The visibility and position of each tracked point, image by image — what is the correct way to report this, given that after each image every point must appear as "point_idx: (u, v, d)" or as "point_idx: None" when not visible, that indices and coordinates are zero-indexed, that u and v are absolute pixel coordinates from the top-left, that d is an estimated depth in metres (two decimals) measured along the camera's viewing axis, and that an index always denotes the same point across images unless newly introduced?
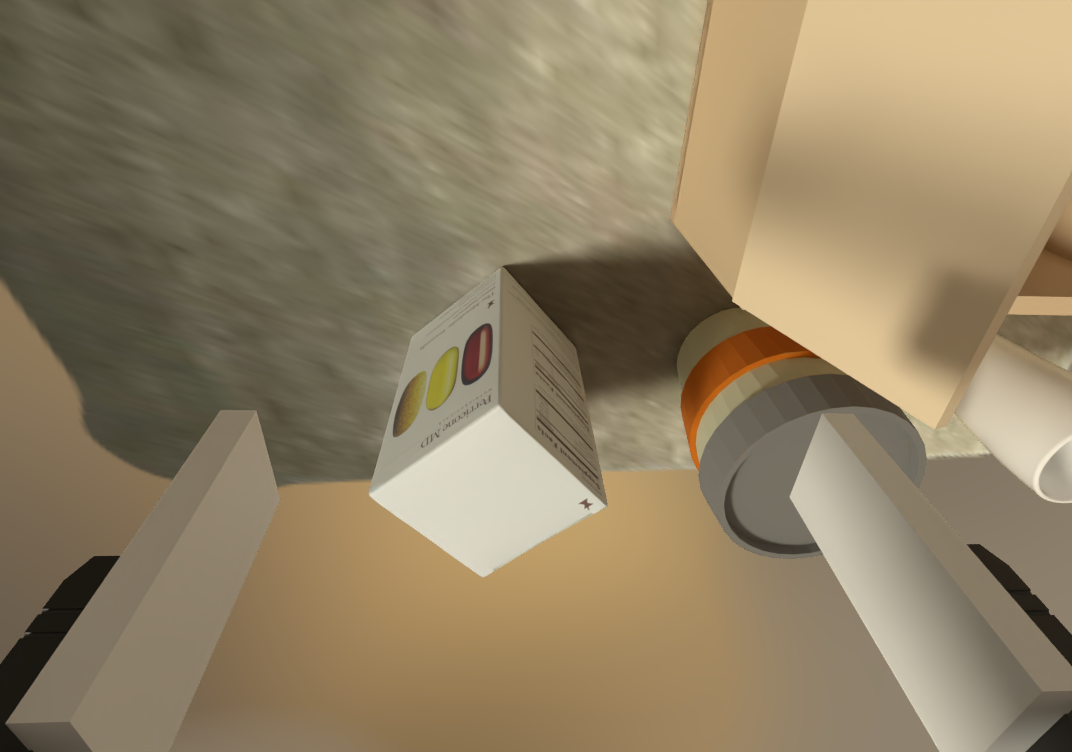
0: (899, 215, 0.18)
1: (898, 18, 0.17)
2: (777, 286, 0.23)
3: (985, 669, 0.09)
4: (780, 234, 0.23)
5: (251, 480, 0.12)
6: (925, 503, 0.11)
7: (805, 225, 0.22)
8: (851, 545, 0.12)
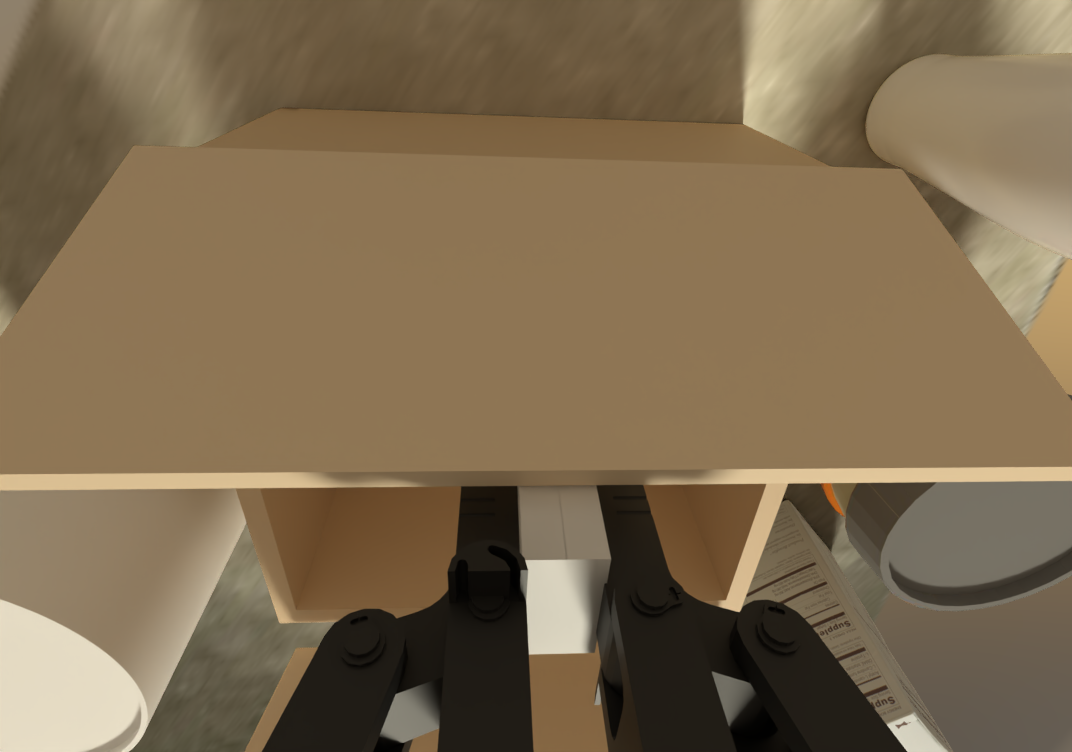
0: None
1: None
2: None
3: None
4: None
5: None
6: None
7: None
8: None
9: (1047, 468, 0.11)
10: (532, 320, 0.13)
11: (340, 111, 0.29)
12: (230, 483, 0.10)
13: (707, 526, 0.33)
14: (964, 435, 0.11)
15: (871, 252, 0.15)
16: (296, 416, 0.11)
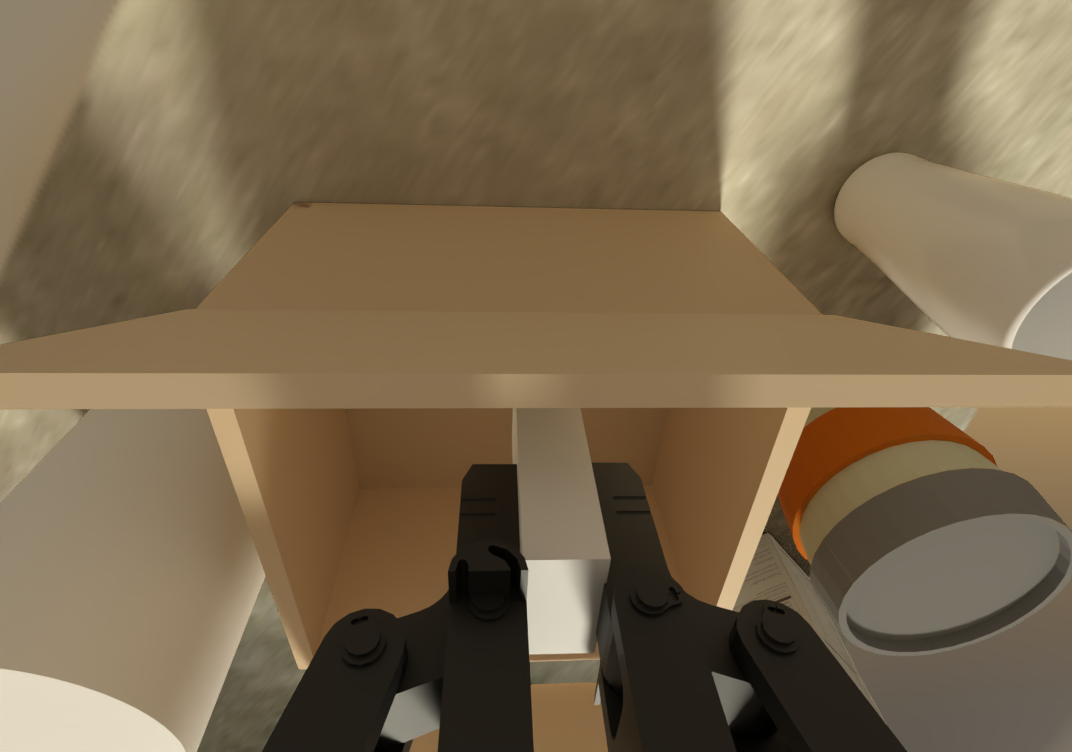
0: None
1: None
2: None
3: None
4: None
5: None
6: (582, 427, 0.13)
7: None
8: None
9: None
10: (523, 340, 0.13)
11: (349, 206, 0.31)
12: (196, 397, 0.09)
13: (686, 575, 0.36)
14: (970, 367, 0.11)
15: (827, 329, 0.16)
16: (284, 360, 0.11)
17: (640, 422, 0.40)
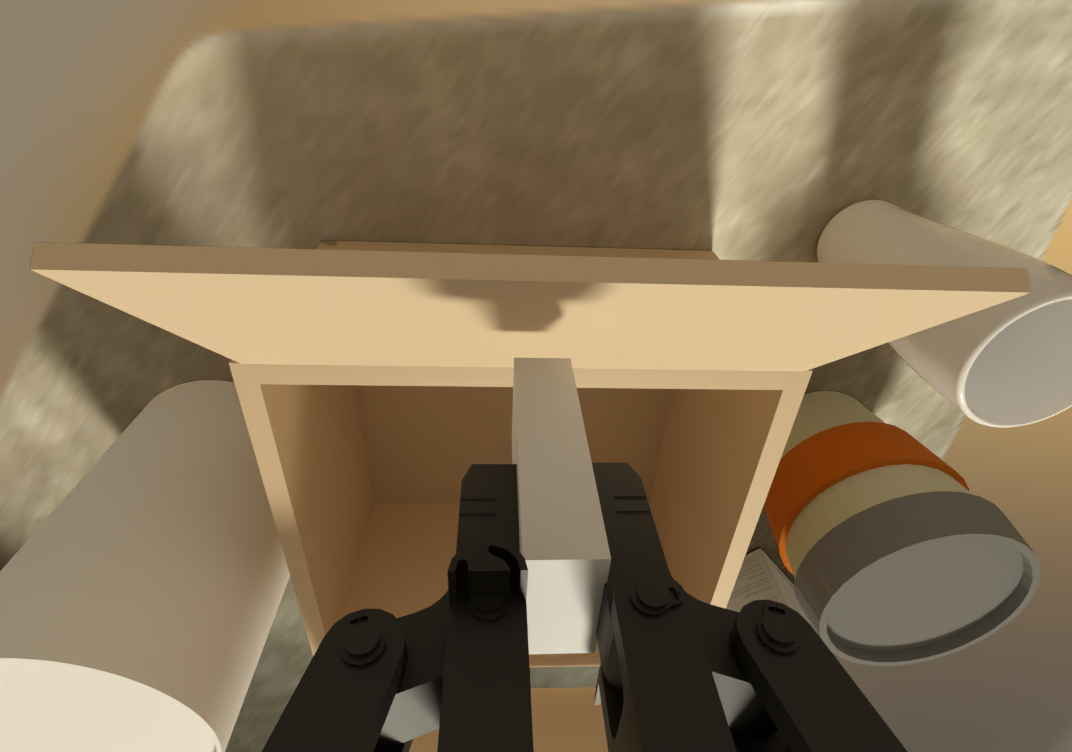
0: None
1: None
2: None
3: None
4: None
5: None
6: (583, 427, 0.13)
7: None
8: None
9: (968, 268, 0.13)
10: None
11: (372, 244, 0.34)
12: (285, 266, 0.12)
13: None
14: None
15: None
16: None
17: (638, 443, 0.43)
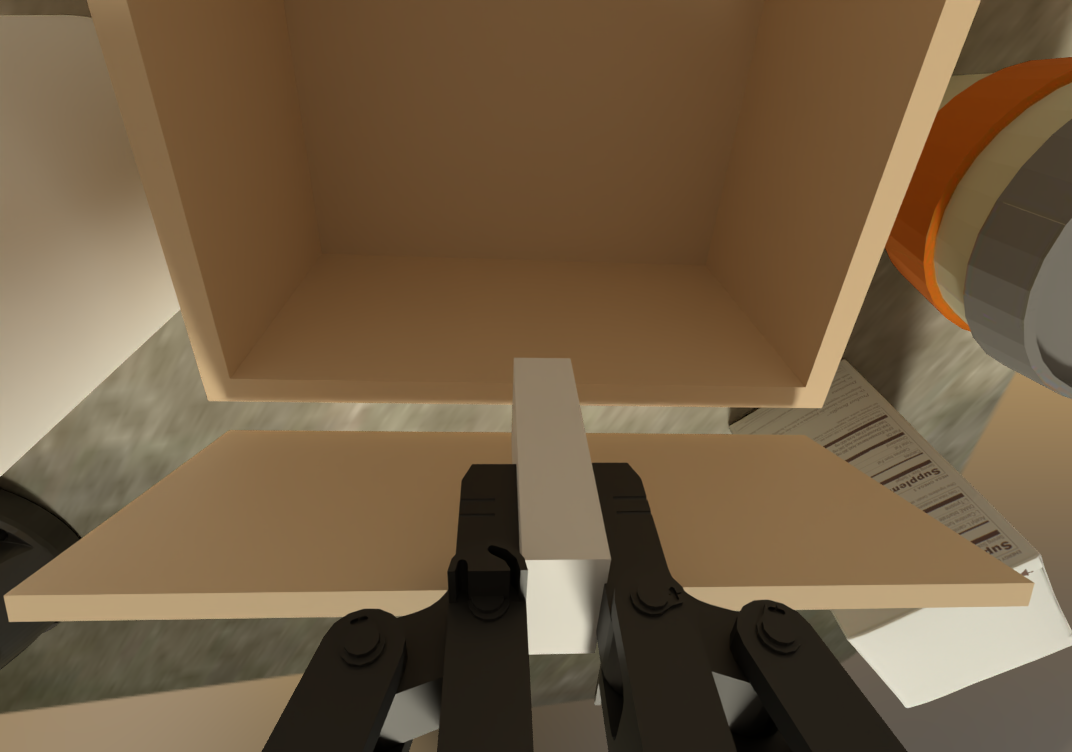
0: None
1: None
2: None
3: None
4: None
5: None
6: (583, 427, 0.13)
7: None
8: None
9: None
10: None
11: None
12: None
13: (773, 315, 0.25)
14: None
15: None
16: None
17: (697, 152, 0.30)
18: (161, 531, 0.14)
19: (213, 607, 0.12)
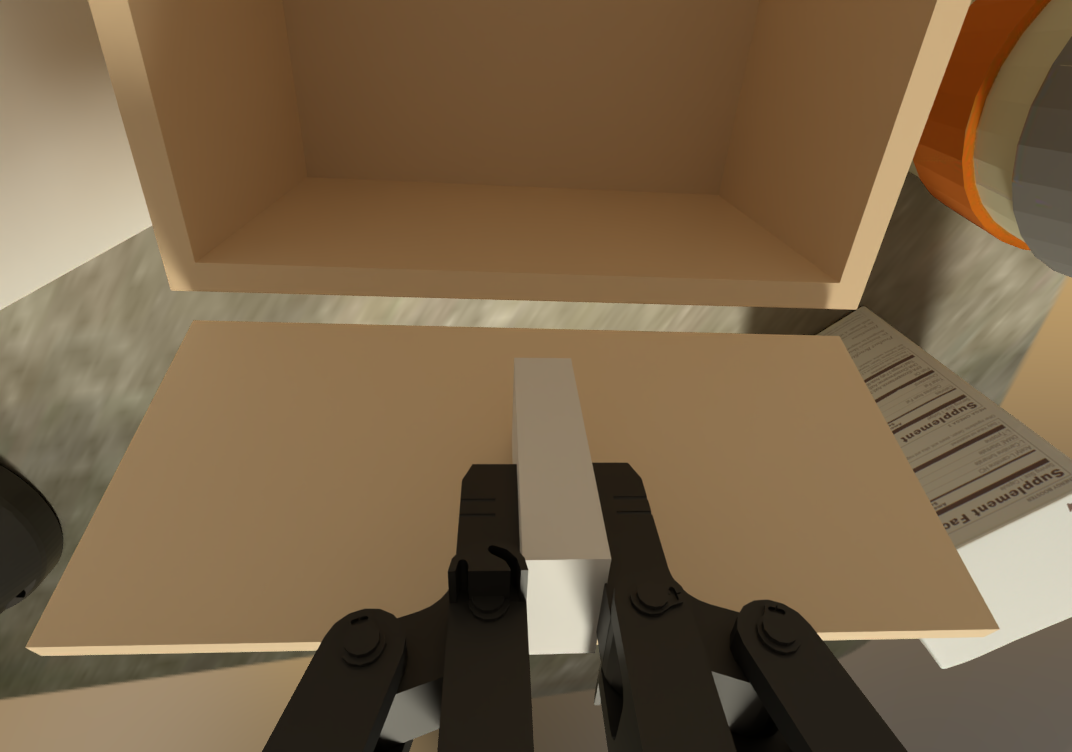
0: None
1: None
2: None
3: None
4: None
5: None
6: (583, 427, 0.13)
7: None
8: None
9: None
10: None
11: None
12: None
13: (799, 218, 0.23)
14: None
15: None
16: None
17: (710, 65, 0.28)
18: (154, 534, 0.14)
19: (226, 648, 0.13)
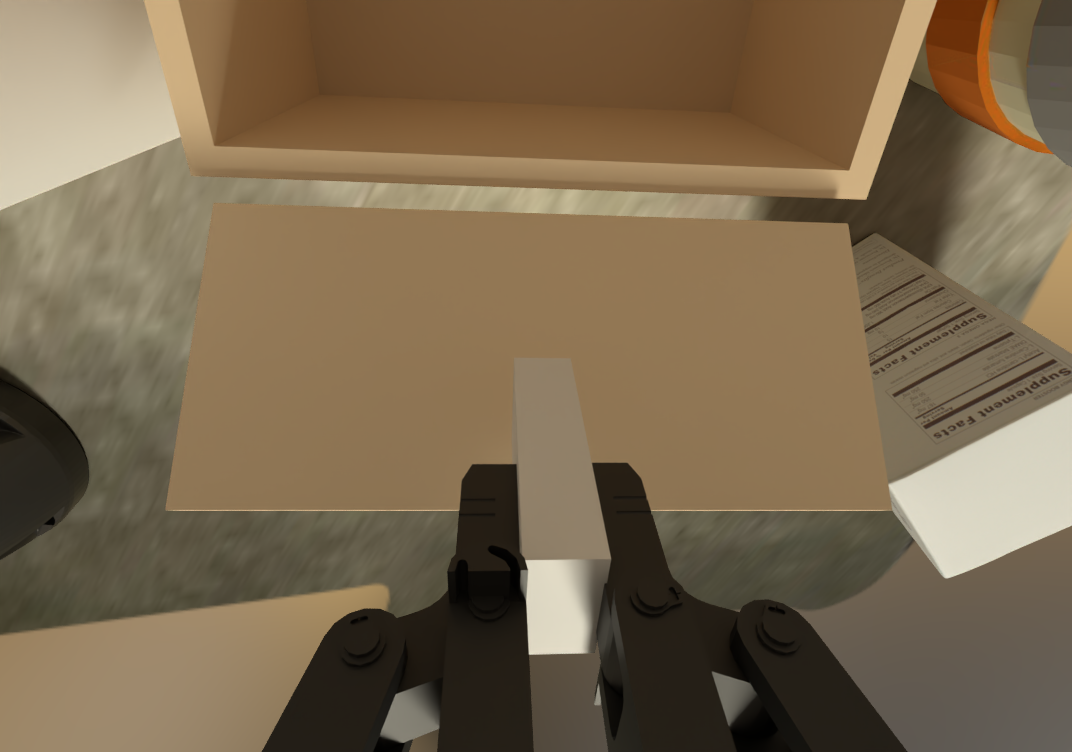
0: None
1: None
2: None
3: None
4: None
5: None
6: (583, 428, 0.13)
7: None
8: None
9: None
10: None
11: None
12: None
13: (810, 115, 0.23)
14: None
15: None
16: None
17: None
18: (234, 423, 0.17)
19: (309, 510, 0.17)
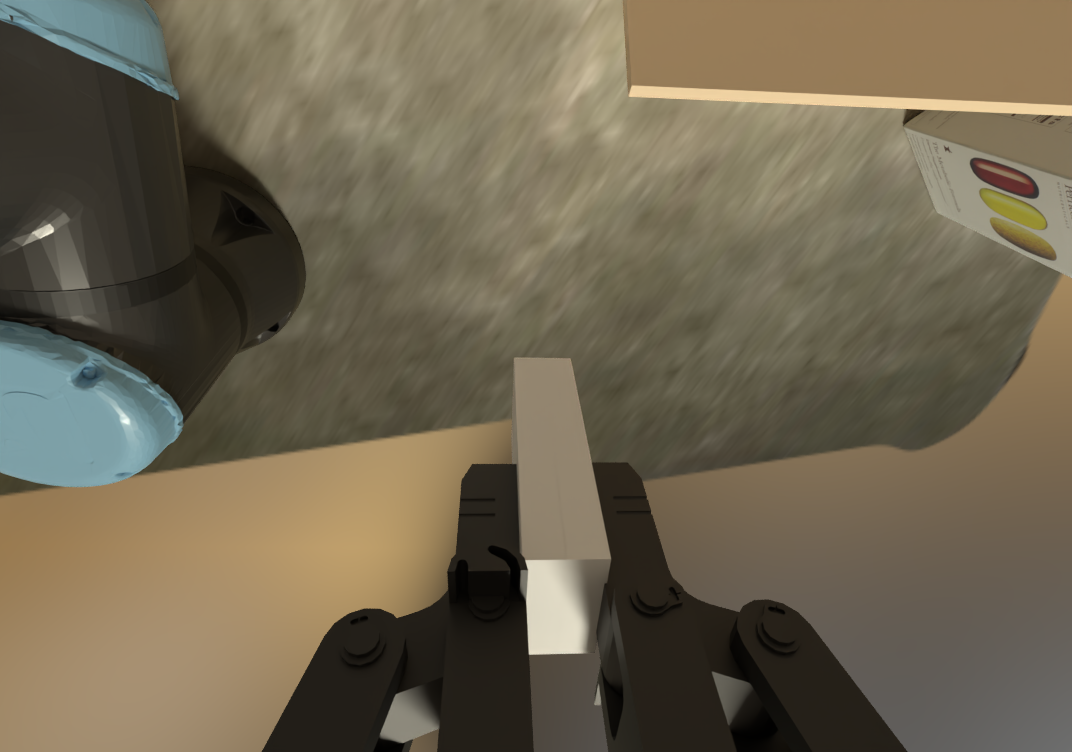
0: None
1: None
2: None
3: None
4: None
5: None
6: (583, 427, 0.13)
7: None
8: None
9: None
10: None
11: None
12: None
13: None
14: None
15: None
16: None
17: None
18: (668, 34, 0.23)
19: (727, 96, 0.23)
